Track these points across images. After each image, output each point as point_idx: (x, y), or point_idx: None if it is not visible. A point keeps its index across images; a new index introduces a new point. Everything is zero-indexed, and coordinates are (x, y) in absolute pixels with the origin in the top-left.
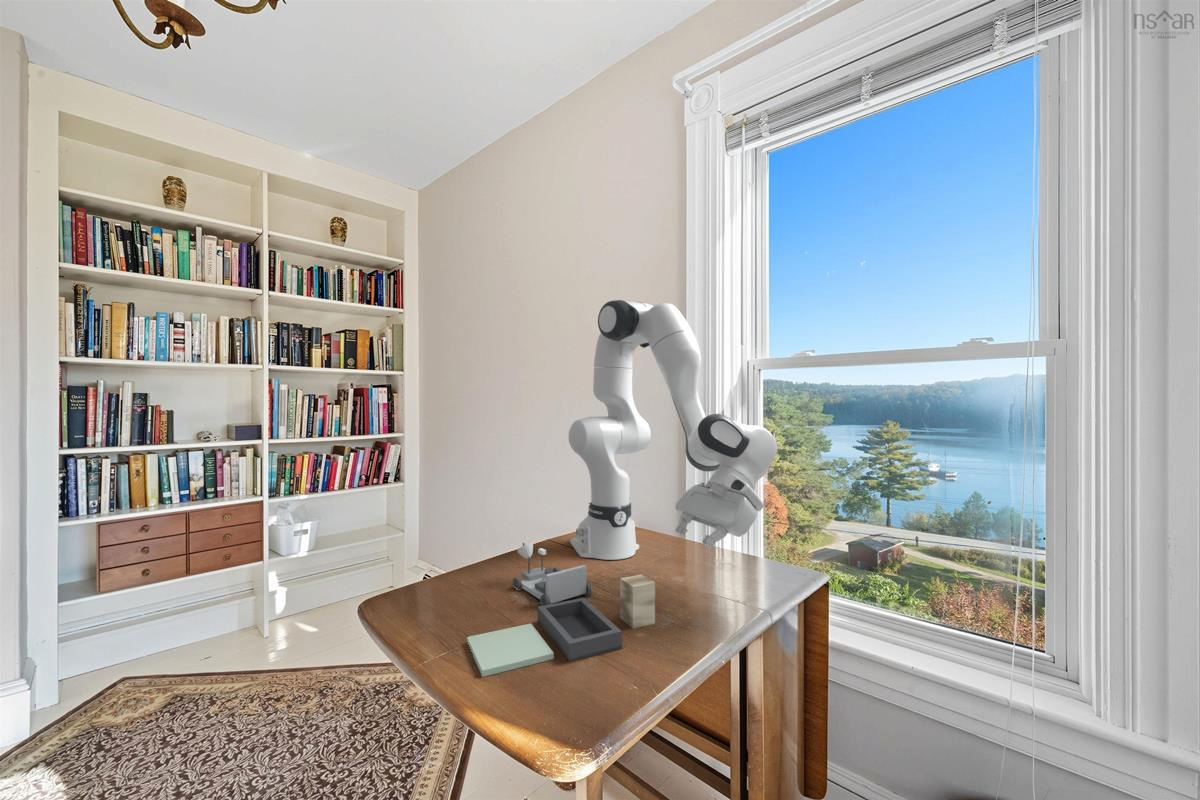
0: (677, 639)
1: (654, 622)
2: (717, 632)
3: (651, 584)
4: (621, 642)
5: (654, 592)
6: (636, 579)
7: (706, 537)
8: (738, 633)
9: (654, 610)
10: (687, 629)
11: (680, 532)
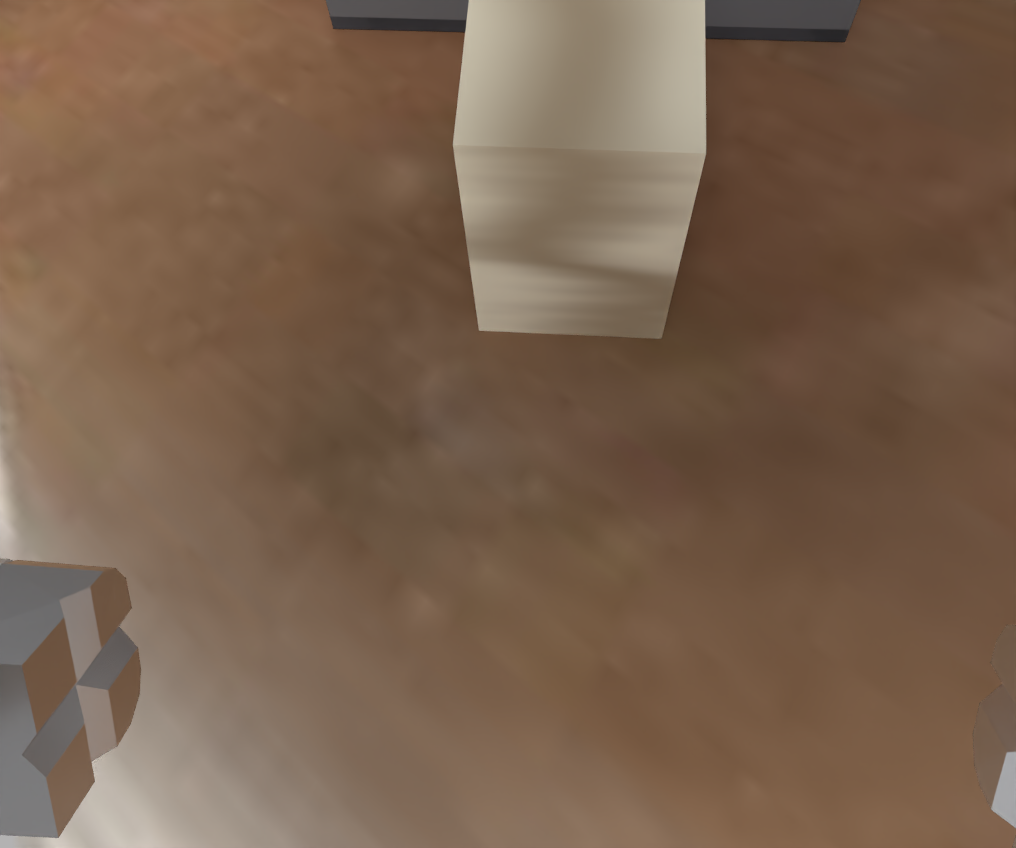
0: (222, 326)
1: (479, 324)
2: None
3: (459, 120)
4: (327, 2)
5: (462, 197)
6: (607, 51)
7: (6, 616)
8: None
9: (473, 280)
10: (282, 465)
11: (1000, 664)
